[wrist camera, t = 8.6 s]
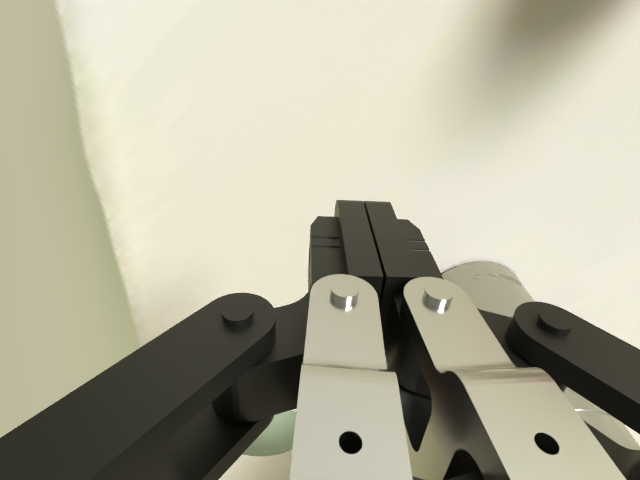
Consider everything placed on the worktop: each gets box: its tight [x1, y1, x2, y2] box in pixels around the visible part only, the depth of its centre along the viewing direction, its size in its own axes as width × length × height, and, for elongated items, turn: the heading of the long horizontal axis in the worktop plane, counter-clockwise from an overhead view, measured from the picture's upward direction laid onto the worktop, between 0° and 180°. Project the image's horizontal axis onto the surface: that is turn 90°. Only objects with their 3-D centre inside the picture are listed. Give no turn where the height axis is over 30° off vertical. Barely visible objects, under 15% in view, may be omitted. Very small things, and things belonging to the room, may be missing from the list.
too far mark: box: [243, 410, 296, 456], centre depth 47 cm, size 11×11×1 cm
